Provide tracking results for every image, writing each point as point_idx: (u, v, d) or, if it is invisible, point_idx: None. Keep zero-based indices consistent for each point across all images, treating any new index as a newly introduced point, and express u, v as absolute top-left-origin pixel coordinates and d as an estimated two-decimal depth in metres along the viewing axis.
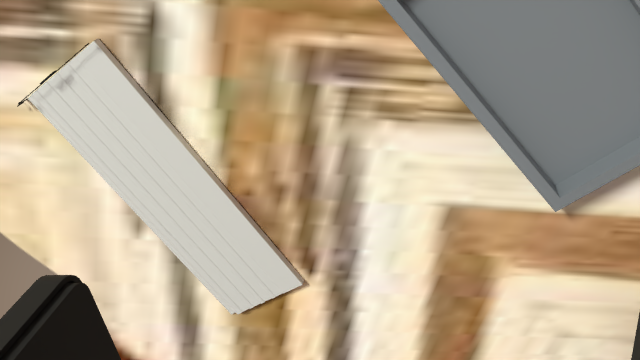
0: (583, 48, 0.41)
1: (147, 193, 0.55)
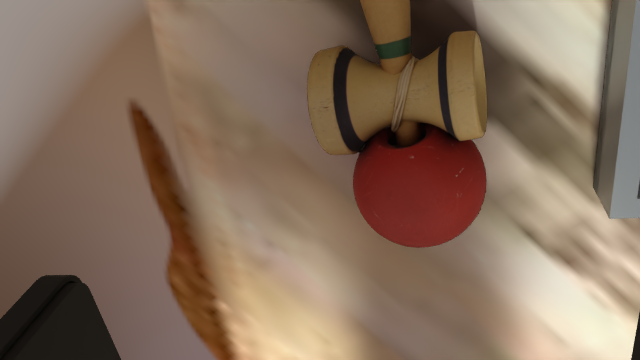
0: None
1: None
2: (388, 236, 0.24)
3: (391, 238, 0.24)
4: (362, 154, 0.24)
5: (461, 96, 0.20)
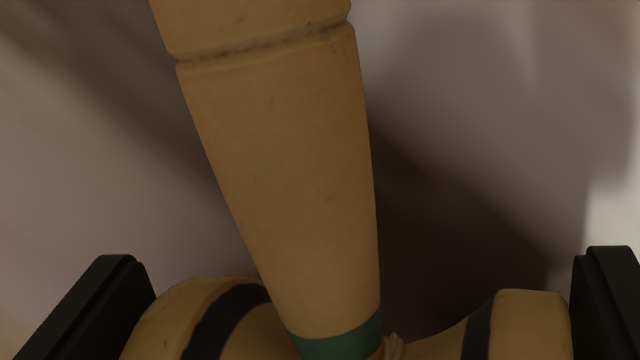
0: None
1: None
2: None
3: None
4: None
5: None
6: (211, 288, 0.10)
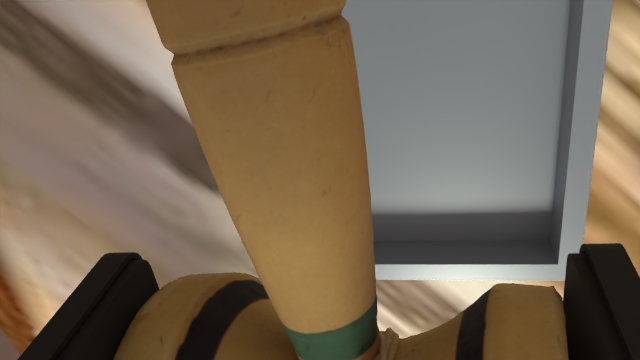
0: None
1: None
2: None
3: None
4: None
5: None
6: (207, 284, 0.10)
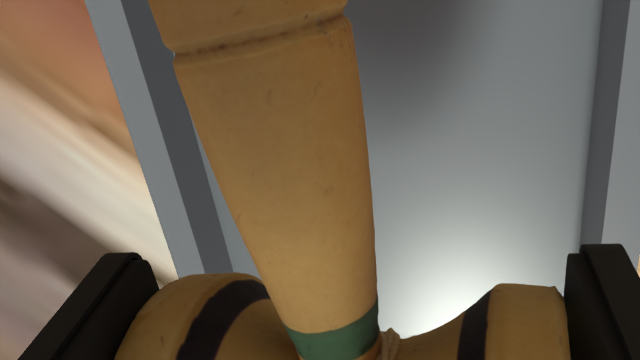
0: None
1: None
2: None
3: None
4: None
5: None
6: (208, 284, 0.10)
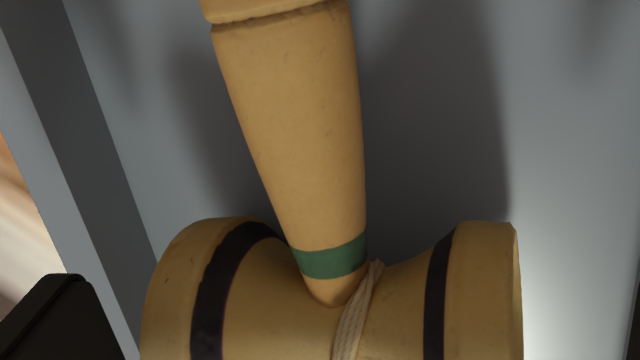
0: None
1: None
2: None
3: None
4: None
5: None
6: (228, 221, 0.12)
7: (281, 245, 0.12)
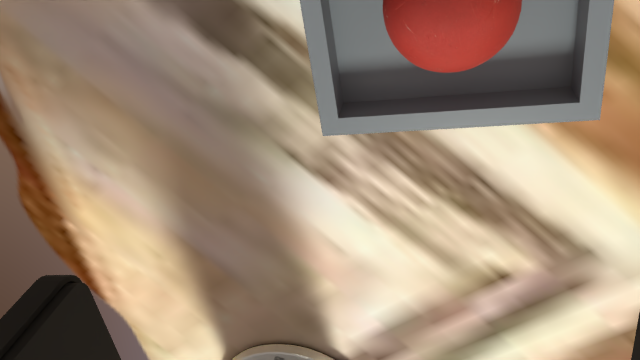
0: None
1: None
2: (419, 55, 0.23)
3: (422, 57, 0.23)
4: None
5: None
6: None
7: None
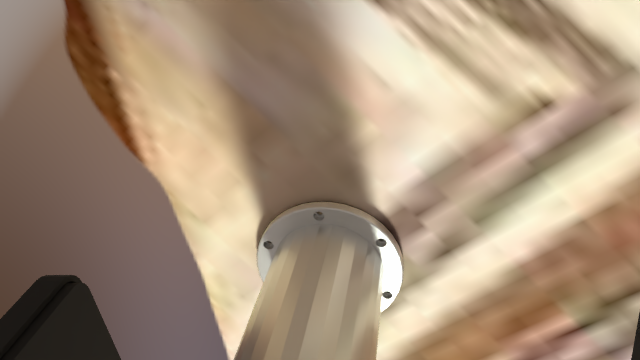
0: None
1: None
2: None
3: None
4: None
5: None
6: None
7: None
